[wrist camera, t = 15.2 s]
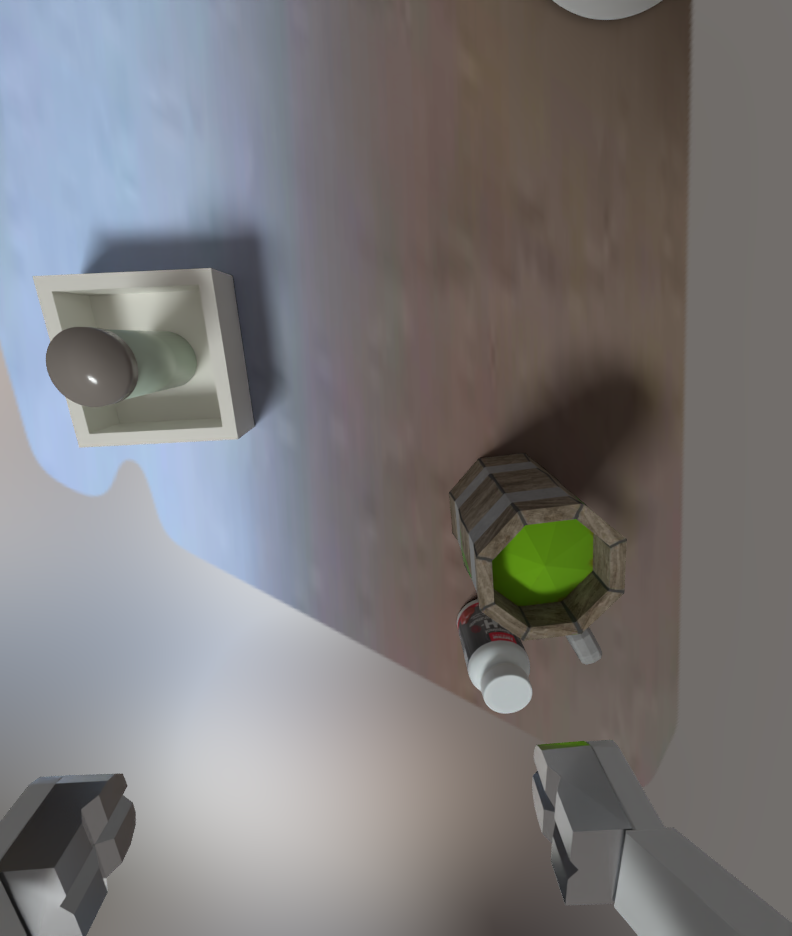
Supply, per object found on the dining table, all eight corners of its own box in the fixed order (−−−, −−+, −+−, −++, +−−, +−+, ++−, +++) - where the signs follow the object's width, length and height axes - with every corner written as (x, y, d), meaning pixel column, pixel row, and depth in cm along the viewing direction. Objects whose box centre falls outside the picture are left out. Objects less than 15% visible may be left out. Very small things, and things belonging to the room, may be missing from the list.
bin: (77, 283, 34) (32, 276, 30) (232, 275, 34) (210, 267, 30) (114, 433, 38) (79, 447, 33) (254, 426, 38) (238, 439, 34)
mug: (425, 486, 40) (443, 549, 29) (533, 429, 39) (596, 470, 27) (498, 613, 44) (539, 711, 33) (597, 565, 43) (675, 650, 32)
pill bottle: (497, 588, 44) (529, 658, 34) (515, 629, 45) (550, 707, 36) (447, 608, 44) (465, 683, 35) (467, 648, 46) (489, 730, 36)
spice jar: (133, 331, 35) (35, 329, 25) (191, 328, 35) (117, 324, 25) (146, 390, 36) (58, 409, 26) (202, 386, 36) (135, 404, 26)
